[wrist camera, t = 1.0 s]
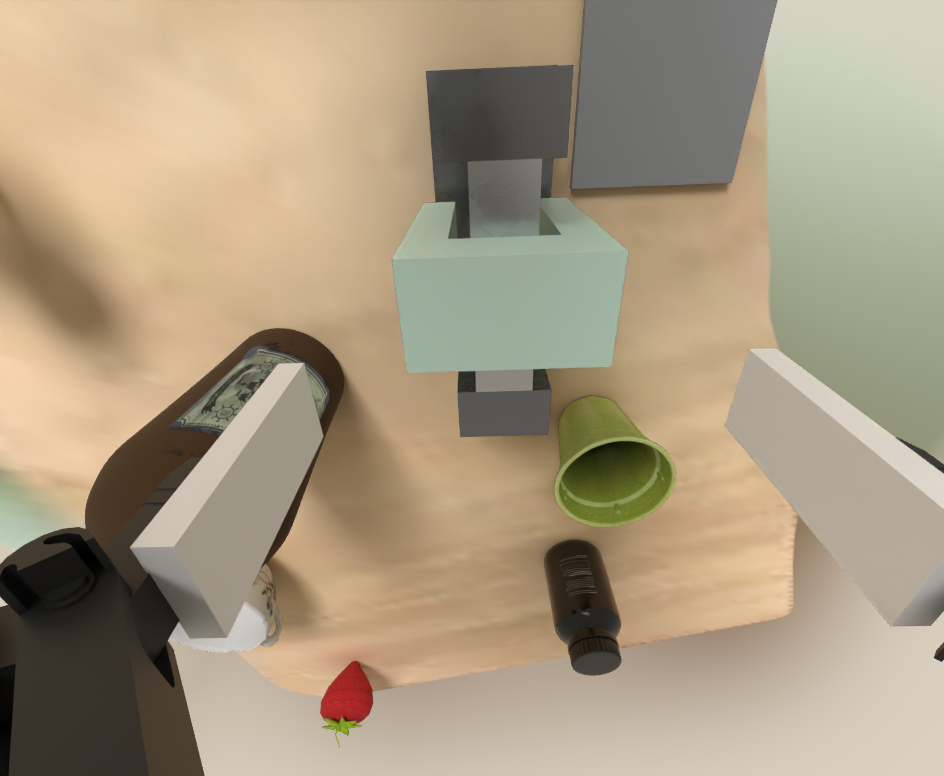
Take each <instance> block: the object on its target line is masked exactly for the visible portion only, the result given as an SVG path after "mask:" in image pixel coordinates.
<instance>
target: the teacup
mask: <svg viewBox="0 0 944 776" xmlns="http://www.w3.org/2000/svg"><path fill="white" fill-rule="evenodd" d="M275 603H276V591H275V584H274V579H273V576H272V573H271V571H270V569H269V567H268V566H267V564H265V565H264V566H263V567H262V568H261V569H260V570H259V572H258V575H257V577H256V579H255V581H254V583H253V585H252V587H251V589H250V591H249V593H248V595H247V598H246V600H245V602H244V604H243V606H242V608H241V610H240V612H239V614H238V616H237V618H236V621H235V623H234V625H233V627H232V629H231V631H230V633H229V635H228V637H227V638H195V639H190V638H189V637H188V635H187V634H186V632H185V631H184V629H183V628H182V626H181V624H180V623H179V622H178V624H177V626H176V627H175V629H174V631H173V632H172V634H171V636H170V638H169V639H171V640H173V641H176V642H178V643H180V644H184V645H186V646H188V647H190V648H194V649H198V650H202V651H207V652H208V651H209V652H222V653H227V652H229V651H231V650H236V651H248V650H251V649H254V648H256V647H258V646H259V645H261V646H264V647H270V646H272V645H274V644H275V643H276V642H277V641H278V638H279V635H280V632H281V628H282V618H281V615H280V611H279V609H278V608H277V607H276V606H275ZM273 617H274V618H275V621H276V630H275V632H274V634H272V635H271V636H268V633H269V631H270V628H271V625H272V621H273Z"/></svg>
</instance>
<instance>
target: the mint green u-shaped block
mask: <svg viewBox="0 0 944 776" xmlns="http://www.w3.org/2000/svg"><path fill="white" fill-rule="evenodd" d="M627 258H628V250H627V249H626V248H625V247H623V246H622V245H621V244H620V243H619V242H618V241H616V240H615V239H614V238H613V237H612V236H611V235H609V234H608V233H607V232H606V231H605V230H604V229H602V228H601V227H600V226H599V225H598V224H597V223H596V222H594V221H593V220H592V219H591V218H590V217H589V216H587V215H586V214H585V213H584V212H583V211H582V210H580V209H579V208H578V207H577V206H576V205H575V204H573V203H572V202H571V201H570V200H569V199H568V198H566V197H562V198H540V222H539V236H516V237H490V238H463V239H457V223H456V204H455V202H434V203H424V204H423V205H422V207H421V209H420V211H419V212H418V214H417V216H416V218H415V219H414V221H413V223H412V225H411V227H410V228H409V230H408V232H407V234H406V235H405V237H404V239H403V241H402V242H401V244H400V246H399V248H398V249H397V251H396V253H395V255H394V257H393V258H392V265H393V273H394V280H395V288H396V295H397V303H398V311H399V318H400V326H401V333H402V341H403V348H404V356H405V364H406V371H407V373H424V372H456V371H488V370H520V369H552V368H584V367H611V366H612V359H613V352H614V345H615V339H616V332H617V325H618V319H619V312H620V305H621V298H622V292H623V285H624V278H625V272H626V265H627Z"/></svg>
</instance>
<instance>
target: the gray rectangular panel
mask: <svg viewBox="0 0 944 776" xmlns="http://www.w3.org/2000/svg"><path fill="white" fill-rule="evenodd" d="M776 4H777V0H584V9H583V22H582V36H581V49H580V63H579V76H578V90H577V103H576V117H575V130H574V143H573V157H572V170H571V184H570V188H571V189H588V188H613V187H639V186H664V185H689V184H715V183H732V180H733V176H734V172H735V168H736V164H737V160H738V156H739V152H740V148H741V144H742V140H743V136H744V132H745V128H746V124H747V120H748V116H749V112H750V108H751V104H752V100H753V96H754V92H755V88H756V84H757V80H758V76H759V72H760V68H761V64H762V60H763V56H764V52H765V48H766V44H767V40H768V36H769V32H770V28H771V24H772V20H773V15H774V12H775V7H776Z"/></svg>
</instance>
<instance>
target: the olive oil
mask: <svg viewBox="0 0 944 776" xmlns="http://www.w3.org/2000/svg"><path fill="white" fill-rule="evenodd" d="M284 363H304V365H305V369H306V372H307V376H308V380H309V384H310V387H311V391H312V395H313V399H314V403H315V406H316V410H317V414H318V418H319V421H320V425H321V429H322V433H323V436H324V437H323V439H322V441H321V443H320V445H319V447H318V449H317V451H316V453H315V455H314V457H313V460H312V462H311V464H310V466H309V468H308V470H307V472H306V474H305V476H304V478H303V480H302V483H301V485H300V487H299V489H298V491H297V493H296V495H295V497H294V499H293V501H292V503H291V506H290V508H289V510H288V512H287V514H286V516H285V518H284V520H283V522H282V524H281V526H280V529H279V531H278V533H277V535H276V537H275V539H274V541H273V543H272V545H271V547H270V549H269V552H268V554H267V556H266V558H265V560H264V562H263V564H262V566H261V568H262V567H263V566H264V565H265V564H266V563H267V562H268V561H269V560H270V559H271V557H272V556H273V555H274V554H275V553H276V552H277V551H278V549H279V548H280V547H281V545H282V544H283V542H284V541H285V539H286V537H287V536H288V534H289V532H290V529H291V527H292V525H293V522H294V520H295V517H296V514H297V511H298V509H299V506H300V503H301V500H302V498H303V495H304V492H305V489H306V487H307V484H308V481H309V478H310V476H311V473H312V470H313V468H314V465H315V462H316V460H317V457H318V454H319V452H320V449H321V447H322V444H323V441H324V439H325V436H326V433H327V431H328V428H329V426H330V423H331V421H332V419H333V416H334V414H335V411H336V409H337V407H338V404H339V402H340V399H341V396H342V393H343V387H344V379H343V374H342V370H341V368H340V366H339V363H338V362H337V360H336V358H335V357H334V356H333V354H332V353H331V352H330V351H329V350H328V349H327V348H326V347H325V346H324V345H323V344H321V343H320V342H319V341H317V340H316V339H314V338H312V337H311V336H309V335H306V334H304V333H301V332H298V331H295V330H290V329H281V328H276V329H268V330H264V331H261V332H258V333H256V334H254V335H252V336H251V337H249V338H248V339H247V340H245V341H244V342H243V343H242V344H241V345H240V346H239V347H238V348H236V349H235V350H234V351H233V352H232V353H231V354H230V355H229V356H227V357H226V358H225V359H224V360H223V361H222V362H221V363H220V364H219V365H217V366H216V367H215V368H214V369H213V370H212V371H210V372H209V373H208V374H207V375H206V376H204V377H203V378H202V379H201V380H200V381H199V382H197V383H196V384H195V385H194V386H193V387H191V388H190V389H189V390H188V391H187V392H185V393H184V394H183V395H182V396H181V397H180V398H178V399H177V400H176V401H175V402H174V403H172V404H171V405H170V406H169V407H167V408H166V409H165V410H164V411H163V412H161V413H160V414H159V415H158V416H156V417H155V418H154V419H153V420H152V421H150V422H149V423H148V424H147V425H146V426H144V427H143V428H142V429H141V430H139V431H138V432H137V433H136V434H135V435H133V436H132V437H131V438H130V439H128V440H127V441H126V442H125V443H124V444H123V445H121V446H120V447H119V448H118V449H117V450H116V451H115V452H114V453H113V455H112V456H111V457H110V458H109V459H108V461H107V462H106V463H105V465H104V466H103V468H102V470H101V471H100V473H99V475H98V477H97V479H96V481H95V483H94V485H93V487H92V489H91V491H90V494H89V497H88V500H87V504H86V509H85V525H86V529H87V530H90V532H91V533H92V535H93V536H94V537H95V539H96V540H97V542H98V543H99V544H100V546H101V547H102V549H104V548H105V547H106V546H107V545H108V544H109V542H110V541H111V540H112V539H113V538H114V537H115V536H116V534H117V533H118V532H119V531H120V530H121V529H122V527H123V526H124V525H125V524H126V523H127V522H128V521H129V519H130V518H131V517H132V516H133V515H134V514H135V512H136V511H137V510H138V509H139V508H140V507H143V506H144V502H145V501H146V500H147V499H148V498H149V496H150V495H151V494H152V493H153V492H156V488H157V487H158V486H159V485H160V484H161V483H162V481H163V480H164V479H165V478H166V477H167V476H168V474H169V473H170V472H171V471H173V470H174V469H176V468H177V467H179V466H180V465H181V464H183V463H184V462H186V461H187V460H188V459H190V458H191V457H204V455H205V454H206V453H207V452H208V450H209V449H210V448H211V447H212V445H213V444H214V443H215V442H216V440H217V439H218V438H219V437H220V436H221V434H222V433H223V432H224V431H225V429H226V428H227V427H228V426H229V424H230V423H231V422H232V421H233V419H234V418H235V417H236V416H237V415H238V413H239V412H240V411H241V410H242V408H243V407H244V406H245V405H246V403H247V402H248V401H249V400H250V398H251V397H252V396H253V395H254V393H255V392H256V391H257V390H258V389H259V387H260V386H261V385H262V384H263V382H264V381H265V380H266V379H267V377H268V376H269V375H270V374H271V372H272V371H273V370H274V369H275V368H276V366H277V365H278V364H284ZM261 568H260V569H261Z"/></svg>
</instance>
